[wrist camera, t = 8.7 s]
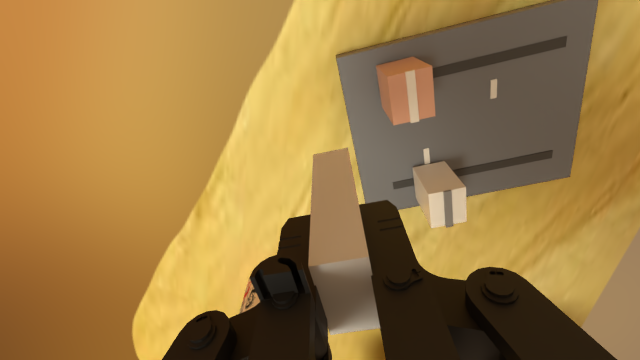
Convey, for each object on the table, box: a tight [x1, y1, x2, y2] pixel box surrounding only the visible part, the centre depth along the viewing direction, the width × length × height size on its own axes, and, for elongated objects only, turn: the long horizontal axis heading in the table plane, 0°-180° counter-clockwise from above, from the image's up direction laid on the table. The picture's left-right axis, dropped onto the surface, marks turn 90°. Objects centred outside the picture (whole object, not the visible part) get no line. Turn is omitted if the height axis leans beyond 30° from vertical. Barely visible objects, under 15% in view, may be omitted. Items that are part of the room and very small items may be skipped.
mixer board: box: [336, 0, 598, 210], centre depth 29 cm, size 16×20×2 cm
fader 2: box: [413, 161, 467, 228], centre depth 28 cm, size 4×3×5 cm
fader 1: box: [376, 57, 435, 125], centre depth 24 cm, size 4×3×5 cm
